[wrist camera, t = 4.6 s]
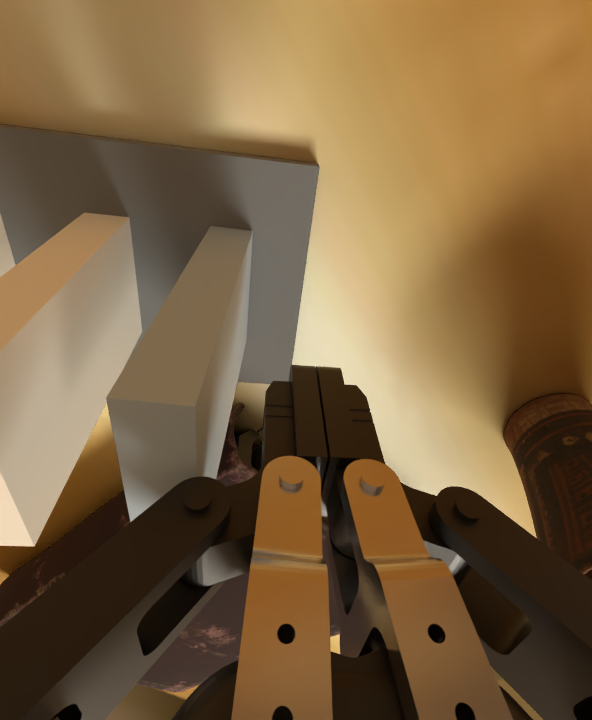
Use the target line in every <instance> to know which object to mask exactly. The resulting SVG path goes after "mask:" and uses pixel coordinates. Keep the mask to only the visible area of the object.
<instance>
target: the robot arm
mask: <svg viewBox="0 0 592 720" xmlns="http://www.w3.org/2000/svg"><path fill="white" fill-rule="evenodd" d="M322 516H327V518H328V526H329V530H328V534H327V538H326V548H327V553H328V558H329V564H330V569H331V574H332V580H333V585H334V591H335V596H336V601H337V607H338V612H339V618H340V653H341V654H337V653H334V652H331V651H330V621H329V590H328V570H327V564H326V562H325V561H323V555H322ZM248 572H250V573H249V581H248V589H247V597H246V605H245V613H244V621H243V629H242V637H241V645H240V654H239V660H237V661H234V662H232V663H230V664H228V665H226V666H224V667H223V668H221V669H220V670H218V671H217V672H215V673H214V674H212V675H211V676H210V677H208V678H207V679H206V680H205V681H204V682H203V683H201V684H200V685H199V686H198V687H197V688H196V690H195V691H194V692H193V693H192V694H191V695H190V696H189V697H188V698H187V700H186V701H185V703H184V704H183V705H182V706H181V708H180V709H179V710H178V712H177V713H176V715H175V716H174V717H173V719H172V720H533V719H532V718H531V717H530V716H529V715H528V714H527V713H526V712H525V711H524V709H523V708H522V707H521V706H520V705H519V704H518V703H517V702H516V701H515V700H514V699H513V698H512V697H511V696H510V695H509V694H508V693H507V692H506V691H505V690H504V689H503V688H502V687H501V686H499V684H498V682H497V680H496V677H495V675H494V672H493V670H492V668H493V669H494V670H495V671H496V672H497V673H498V674H499V675H500V676H501V677H502V678H503V679H504V680H505V681H506V682H507V683H508V684H509V685H510V686H511V687H512V688H513V689H514V690H515V691H516V692H517V693H518V694H519V695H520V696H521V697H522V698H523V699H524V700H525V701H526V702H527V703H528V704H529V705H530V706H531V707H532V708H533V709H534V710H535V711H536V712H537V713H538V714H539V715H540V716H541V717H542V718H543V719H544V720H592V580H590V579H589V578H588V577H587V576H585V575H584V574H583V573H581V572H580V571H579V570H577V569H576V568H575V567H573V566H572V565H571V564H569V563H568V562H567V561H565V560H564V559H563V558H562V557H560V556H559V555H558V554H556V553H555V552H554V551H552V550H551V549H550V548H548V547H547V546H546V545H544V544H543V543H542V542H541V541H539V540H538V539H537V538H535V537H534V536H533V535H531V534H530V533H529V532H527V531H526V530H525V529H523V528H522V527H521V526H519V525H518V524H517V523H516V522H514V521H513V520H512V519H510V518H509V517H508V516H506V515H505V514H504V513H502V512H501V511H500V510H498V509H497V508H496V507H494V506H493V505H492V504H491V503H489V502H488V501H487V500H485V499H484V498H483V497H481V496H480V495H478V494H477V493H475V492H473V491H471V490H469V489H466V488H463V487H447V488H445V489H443V490H441V491H440V492H439V494H438V495H437V496H435V495H431V494H428V493H425V492H422V491H419V490H416V489H413V488H410V487H408V486H406V485H404V484H403V483H401V482H400V480H399V478H398V476H397V475H396V474H395V472H394V471H393V470H392V469H391V468H389V467H388V466H387V465H385V462H384V459H383V455H382V451H381V448H380V444H379V441H378V437H377V434H376V430H375V426H374V423H373V419H372V416H371V412H370V408H369V405H368V401H367V398H366V396H365V395H364V394H363V393H362V391H361V390H360V389H359V388H358V387H357V385H344V380H343V376H342V371H341V369H340V368H333V367H317V366H316V368H315V366H300V365H291V367H290V373H289V381H273V382H272V383H271V385H270V386H269V388H268V389H267V391H266V396H265V407H264V418H263V433H262V464H261V469H260V470H259V471H258V472H257V473H256V474H255V475H254V476H253V477H252V478H250V479H248V480H246V481H244V482H241V483H238V484H234V485H230V486H226V487H225V485H223V484H222V483H221V482H220V481H218V480H216V479H213V478H210V477H203V476H200V477H192V478H189V479H186V480H184V481H182V482H180V483H179V484H177V485H176V486H175V487H173V488H172V489H171V490H170V491H168V492H167V493H166V494H165V495H164V496H162V497H161V498H160V499H159V500H157V501H156V502H155V503H154V504H152V505H151V506H150V507H149V508H147V509H146V510H145V511H144V512H142V513H141V514H140V515H139V516H138V517H136V518H135V519H134V520H133V521H131V522H130V523H129V524H128V525H126V526H125V527H124V528H123V529H121V530H120V531H119V532H118V533H116V534H115V535H114V536H113V537H112V538H110V539H109V540H108V541H107V542H105V543H104V544H103V545H102V546H100V547H99V548H98V549H97V550H95V551H94V552H93V553H92V554H90V555H89V556H88V557H87V558H86V559H84V560H83V561H82V562H81V563H79V564H78V565H77V566H76V567H74V568H73V569H72V570H71V571H69V572H68V573H67V574H66V575H64V576H63V577H62V578H61V579H60V580H58V581H57V582H56V583H55V584H53V585H52V586H51V587H50V588H48V589H47V590H46V591H45V592H43V593H42V594H41V595H40V596H38V597H37V598H36V599H35V600H34V601H32V602H31V603H30V604H29V605H27V606H26V607H25V608H24V609H22V610H21V611H20V612H19V613H17V614H16V615H15V616H14V617H12V618H11V619H10V620H9V621H8V622H6V623H5V624H4V625H3V626H1V627H0V720H105V719H106V718H107V717H108V715H109V714H110V713H111V712H112V711H113V710H114V708H115V707H116V706H117V705H118V704H119V703H120V702H121V700H122V699H123V698H124V697H125V696H126V695H127V694H128V692H129V691H130V690H131V689H132V688H133V687H134V686H135V685H136V683H137V682H138V681H139V680H140V679H141V678H142V677H143V675H144V674H145V673H146V672H147V671H148V670H149V669H150V667H151V666H152V665H153V664H154V663H155V662H156V661H157V659H158V658H159V657H160V656H161V655H162V654H163V653H164V651H165V650H166V649H167V648H168V647H169V646H170V645H171V643H172V642H173V641H174V640H175V639H176V638H177V637H178V635H179V634H180V633H181V632H182V631H183V630H184V629H185V627H186V626H187V625H188V624H189V623H190V622H191V621H192V619H193V618H194V617H195V616H196V615H197V614H198V613H199V611H200V610H201V609H202V608H203V607H204V606H205V605H206V603H207V602H208V601H209V600H210V599H211V598H212V597H213V595H214V594H215V593H216V592H217V591H218V590H219V589H220V587H221V586H222V585H223V584H224V582H225V580H227V579H230V578H233V577H236V576H239V575H242V574H245V573H248ZM491 667H492V668H491Z"/></svg>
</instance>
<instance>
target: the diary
mask: <svg viewBox="0 0 592 720" xmlns="http://www.w3.org/2000/svg"><path fill="white" fill-rule="evenodd" d="M244 407H245V406H244V404H243V403H239V404H238V405H237V406H235V407H234V408H233V409H231V413H230V418H229V422H228V427H227V431H226V436H225V441H224V445H223V450H222V454H221V459H220V463H219V468H218V472H217V477H216V480H218V481H220V482H221V483H222V484H223V485H225V487H226V486H230V485H234V484H238V483H241V482H244V481H246V480H248V479H250V478H252V477H253V476H254V475H255V474H256V473H257V472H258V471H259V470H260V469H261V464H262V446H261V447H259V448H258V449H256V450H255V451H253V452H252V444H253V443H254V441H255V439H256V438H257V436H258V435H259V433H258V432H259V431H261V430H262V429H263V427H262V428H261V429H260V430H258V431H255V430H254V429H253V430H251V431H248V432H246V433H244V434H241V435H239V436H238V437H236V438H235V437H234V433H233V432H234V425H235V418H236V417H237V416H238V414H239V413H240V412H241V411H242V409H243V408H244ZM129 523H130V517H129V512H128V507H127V502H126V497H125V492H124V491H123V492H121V493H120V494H118V495H117V496H116V497H114V498H113V499H111V500H110V501H109V502H107V503H106V504H104V505H103V506H102V507H100V508H99V509H98V510H97V511H95V512H94V513H93V514H92V515H90V516H89V517H88V518H87V519H85V520H84V521H83V522H82V523H80V524H79V525H78V526H76V527H75V528H74V529H73V530H71V531H70V532H69V533H68V534H66V535H65V536H64V537H63V538H61V539H60V540H59V541H58V542H56V543H55V544H54V545H52V546H51V547H49V548H48V549H46V550H45V551H43V552H42V553H41V554H39V555H38V556H36V557H35V558H33V559H32V560H30V561H29V562H28V563H26V564H25V565H23V566H22V567H20V568H19V569H17V570H16V571H15V572H13V573H12V574H11V575H10V576H9V577H8V578H6V579H5V580H4V581H3V582H2V583H1V585H0V627H1V626H3V625H4V624H5V623H6V622H8V621H9V620H10V619H11V618H12V617H14V616H15V615H16V614H17V613H19V612H20V611H21V610H22V609H24V608H25V607H26V606H27V605H29V604H30V603H31V602H32V601H34V600H35V599H36V598H37V597H38V596H40V595H41V594H42V593H43V592H45V591H46V590H47V589H48V588H50V587H51V586H52V585H53V584H55V583H56V582H57V581H58V580H60V579H61V578H62V577H63V576H64V575H66V574H67V573H68V572H69V571H71V570H72V569H73V568H74V567H76V566H77V565H78V564H79V563H81V562H82V561H83V560H84V559H86V558H87V557H88V556H89V555H90V554H92V553H93V552H94V551H95V550H97V549H98V548H99V547H100V546H102V545H103V544H104V543H105V542H107V541H108V540H109V539H110V538H112V537H113V536H114V535H115V534H116V533H118V532H119V531H120V530H121V529H123V528H124V527H125V526H126V525H128V524H129ZM328 530H329V526H328V518H327V516H322V555H323V561H325V562H326V564H327V570H328V590H329V621H330V637H331V636H335V635H338V634H340V618H339V612H338V607H337V601H336V596H335V591H334V585H333V580H332V574H331V569H330V564H329V558H328V553H327V548H326V538H327V534H328ZM249 573H250V572H248V573H245V574H242V575H239V576H236V577H233V578H230V579H227V580H225V582H224V584H223V585H222V586H221V587H220V589H219V590H218V591H217V592H216V593H215V594H214V595H213V597H212V598H211V599H210V600H209V601H208V602H207V603H206V605H205V606H204V607H203V608H202V609H201V610H200V611H199V613H198V614H197V615H196V616H195V617H194V618H193V619H192V621H191V622H190V623H189V624H188V625H187V626H186V627H185V629H184V630H183V631H182V632H181V633H180V634H179V635H178V637H177V638H176V639H175V640H174V641H173V642H172V643H171V645H170V646H169V647H168V648H167V649H166V650H165V651H164V653H163V654H162V655H161V656H160V657H159V658H158V659H157V661H156V662H155V663H154V664H153V665H152V666H151V667H150V669H149V670H148V671H147V672H146V673H145V674H144V675H143V677H142V678H141V679H140V680H139V681H138V682H137V683H136V684H137V685H142V686H146V687H151V688H156V689H161V690H165V691H170V692H183V691H185V690H188V689H190V688H193V687H195V686H198V685H200V684H201V683H203V682H204V681H205V680H206V679H207V678H208V677H210V676H211V675H212V674H214V673H215V672H217V671H218V670H220V669H221V668H223V667H224V666H226V665H228V664H230V663H232V662H234V661H237V660H239V654H240V645H241V637H242V629H243V621H244V613H245V605H246V597H247V589H248V581H249Z"/></svg>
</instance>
